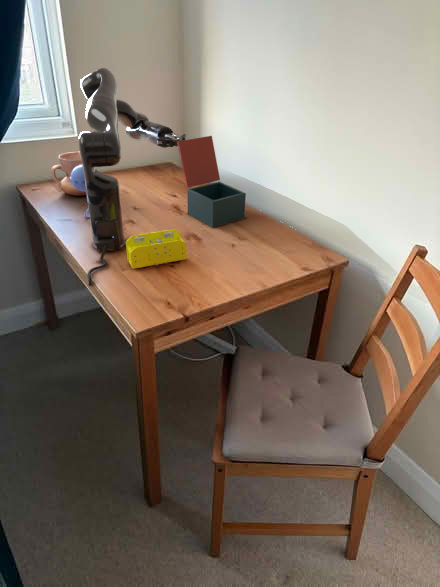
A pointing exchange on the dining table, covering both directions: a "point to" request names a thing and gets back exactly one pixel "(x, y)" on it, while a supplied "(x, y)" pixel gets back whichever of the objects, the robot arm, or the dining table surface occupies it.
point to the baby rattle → (79, 181)
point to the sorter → (216, 203)
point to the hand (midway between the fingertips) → (185, 145)
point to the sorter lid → (198, 161)
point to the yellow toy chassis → (155, 248)
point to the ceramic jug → (68, 172)
